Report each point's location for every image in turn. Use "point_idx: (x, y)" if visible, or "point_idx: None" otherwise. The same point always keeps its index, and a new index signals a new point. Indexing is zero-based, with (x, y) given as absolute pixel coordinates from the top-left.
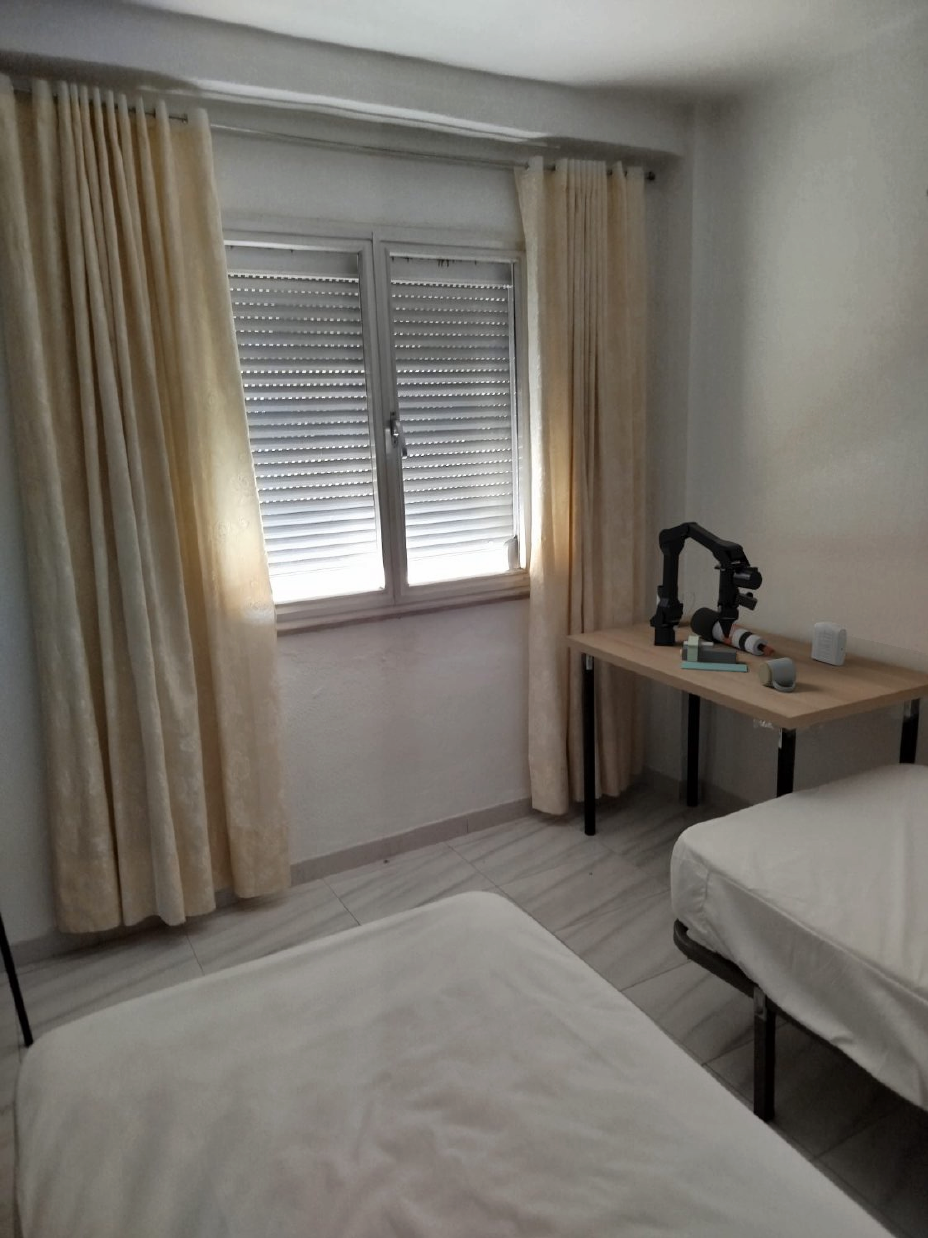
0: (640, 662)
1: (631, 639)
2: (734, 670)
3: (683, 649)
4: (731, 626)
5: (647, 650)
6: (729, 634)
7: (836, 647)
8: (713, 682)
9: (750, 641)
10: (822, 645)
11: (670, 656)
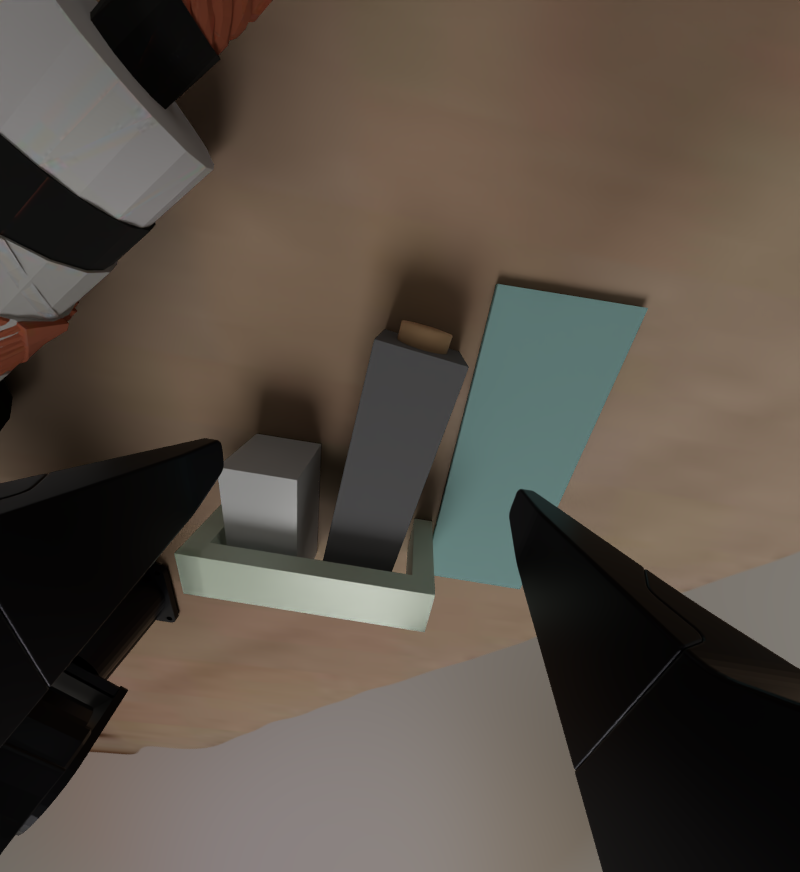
0: (422, 670)
1: None
2: (613, 382)
3: None
4: (699, 607)
5: (257, 638)
6: (563, 512)
7: None
8: (765, 507)
9: (121, 162)
10: None
11: None
